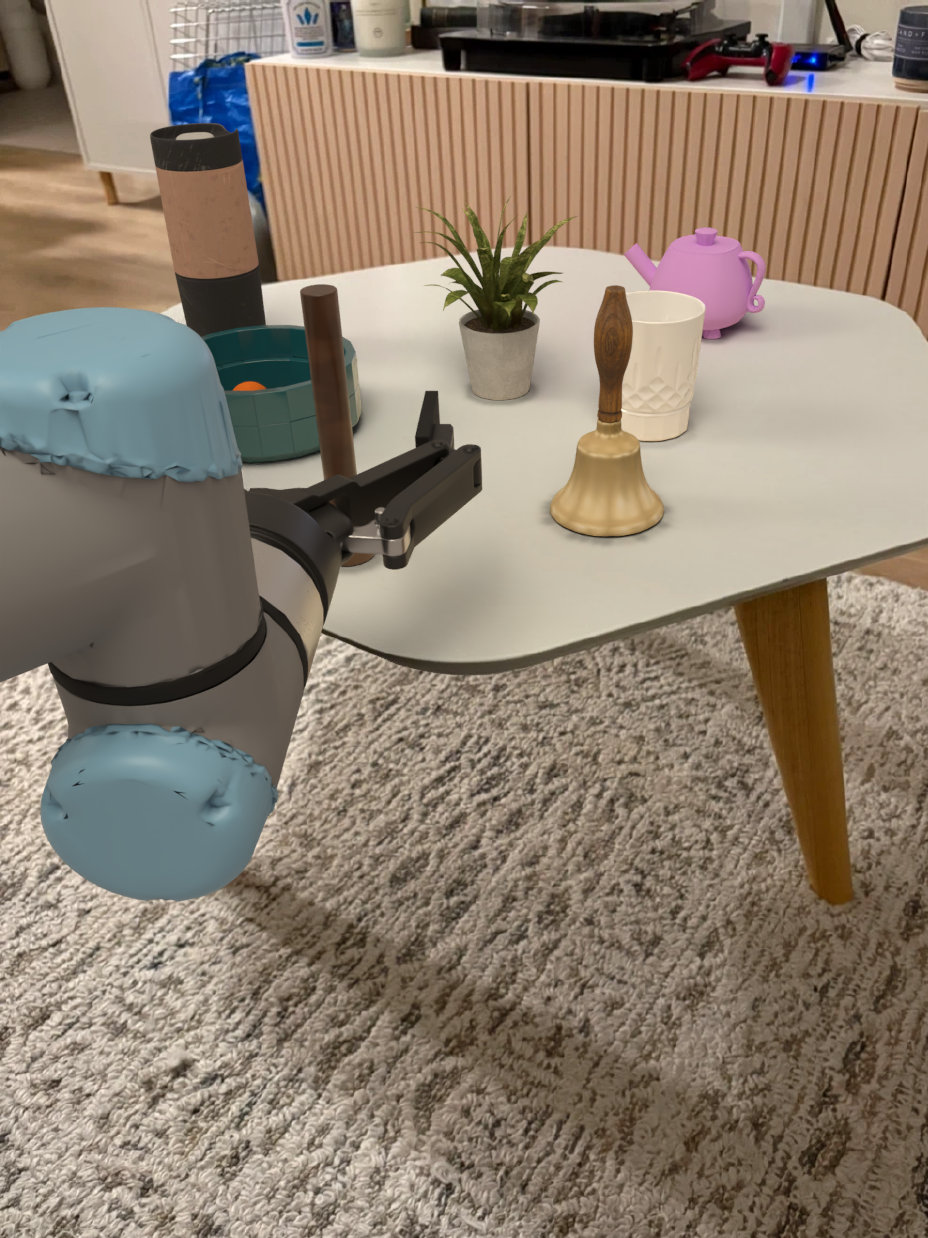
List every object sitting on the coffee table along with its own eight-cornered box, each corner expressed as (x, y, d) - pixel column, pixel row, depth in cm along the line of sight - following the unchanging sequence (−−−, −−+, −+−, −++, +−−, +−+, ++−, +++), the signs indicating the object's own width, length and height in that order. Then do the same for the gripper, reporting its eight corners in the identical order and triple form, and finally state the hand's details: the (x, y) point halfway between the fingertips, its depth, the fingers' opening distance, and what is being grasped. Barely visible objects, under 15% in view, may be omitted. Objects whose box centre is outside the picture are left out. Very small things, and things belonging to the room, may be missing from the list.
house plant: (378, 404, 97) (360, 208, 87) (450, 352, 107) (441, 171, 97) (526, 431, 92) (525, 226, 82) (587, 373, 102) (592, 184, 92)
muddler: (322, 568, 74) (286, 300, 64) (324, 542, 77) (289, 281, 67) (375, 564, 75) (348, 297, 64) (375, 538, 78) (349, 278, 67)
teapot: (743, 351, 106) (755, 251, 100) (601, 328, 111) (604, 232, 106) (777, 319, 113) (789, 223, 107) (641, 298, 119) (646, 207, 113)
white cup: (663, 453, 88) (672, 329, 82) (582, 430, 92) (585, 309, 86) (712, 420, 93) (723, 301, 87) (632, 399, 97) (638, 283, 91)
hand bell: (531, 497, 82) (530, 280, 73) (628, 475, 85) (640, 263, 75) (581, 547, 76) (587, 317, 67) (685, 522, 79) (705, 297, 69)
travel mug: (182, 372, 104) (136, 140, 92) (203, 343, 110) (162, 122, 98) (262, 372, 103) (227, 139, 91) (279, 343, 110) (247, 121, 98)
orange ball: (233, 368, 90) (222, 407, 92) (236, 388, 88) (224, 427, 90) (276, 380, 92) (264, 418, 94) (280, 399, 89) (268, 438, 91)
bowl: (152, 466, 88) (135, 394, 84) (202, 390, 100) (190, 324, 96) (346, 466, 87) (338, 393, 83) (373, 390, 99) (366, 324, 96)
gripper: (-5, 668, 52) (131, 469, 69) (520, 670, 51) (527, 468, 68) (-56, 528, 48) (103, 352, 65) (518, 528, 47) (526, 350, 64)
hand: (321, 412), depth 67 cm, fingers open, 13 cm apart
